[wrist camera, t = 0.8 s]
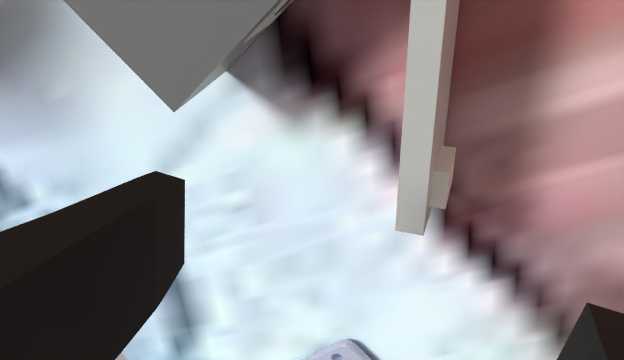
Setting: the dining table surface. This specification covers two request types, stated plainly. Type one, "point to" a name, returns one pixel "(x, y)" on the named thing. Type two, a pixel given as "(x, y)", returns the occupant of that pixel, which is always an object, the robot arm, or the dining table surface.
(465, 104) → the dining table surface
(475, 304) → the dining table surface
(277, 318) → the dining table surface
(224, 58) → the grey switch box
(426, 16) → the side door
